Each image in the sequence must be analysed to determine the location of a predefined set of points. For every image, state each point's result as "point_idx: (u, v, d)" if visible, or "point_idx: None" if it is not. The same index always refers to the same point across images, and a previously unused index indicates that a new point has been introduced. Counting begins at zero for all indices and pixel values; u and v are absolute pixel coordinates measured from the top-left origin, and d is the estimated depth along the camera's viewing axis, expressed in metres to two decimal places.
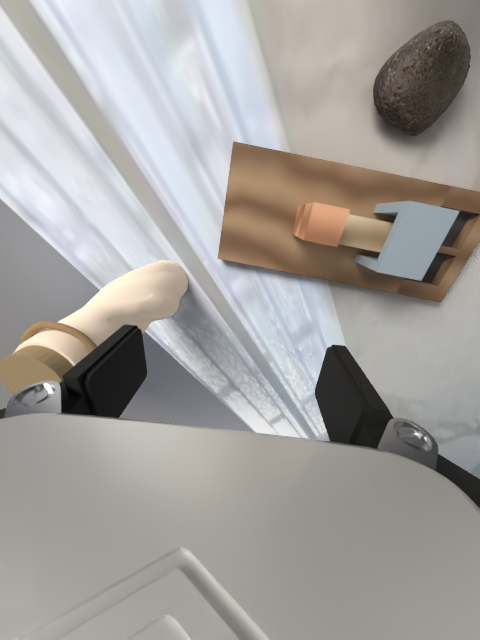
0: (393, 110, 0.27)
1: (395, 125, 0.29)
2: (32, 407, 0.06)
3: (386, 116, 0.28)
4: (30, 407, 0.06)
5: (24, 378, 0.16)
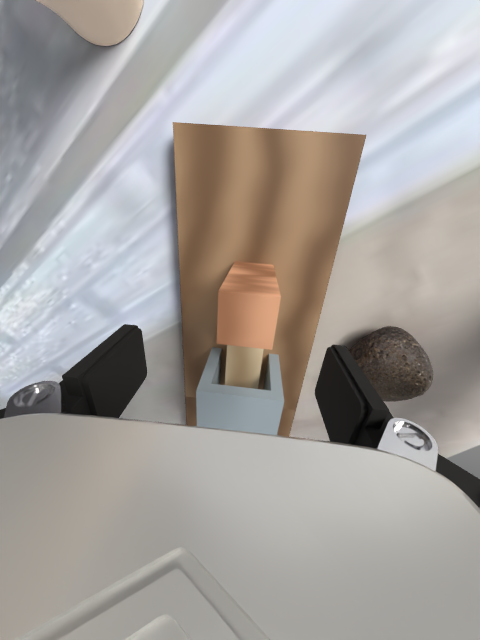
0: (365, 352, 0.25)
1: None
2: (32, 407, 0.06)
3: (359, 345, 0.26)
4: (30, 407, 0.06)
5: None
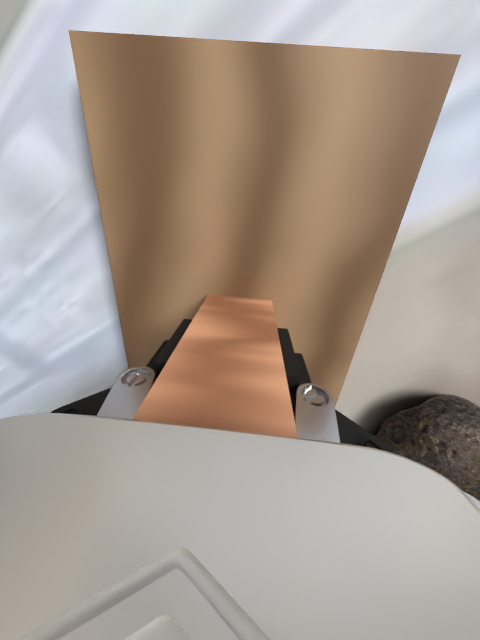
0: (412, 437, 0.16)
1: (383, 430, 0.18)
2: (130, 388, 0.07)
3: (400, 422, 0.17)
4: (129, 387, 0.07)
5: None
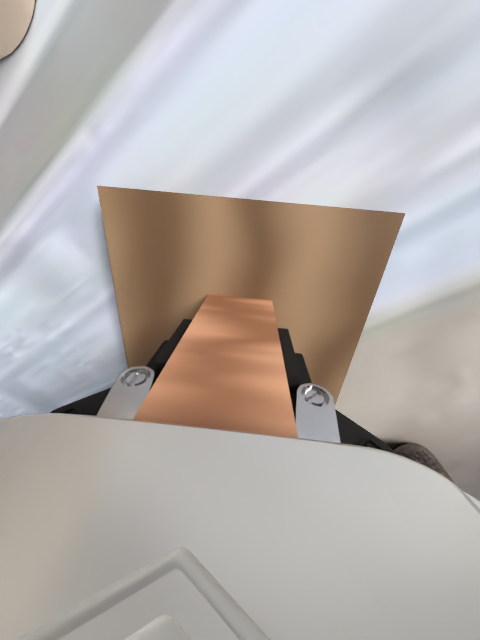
0: None
1: None
2: (129, 388, 0.07)
3: None
4: (128, 387, 0.07)
5: None
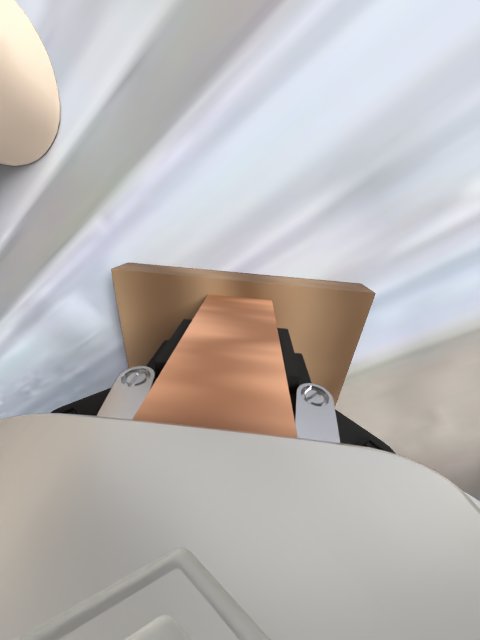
0: None
1: None
2: (130, 388, 0.07)
3: None
4: (129, 387, 0.07)
5: None
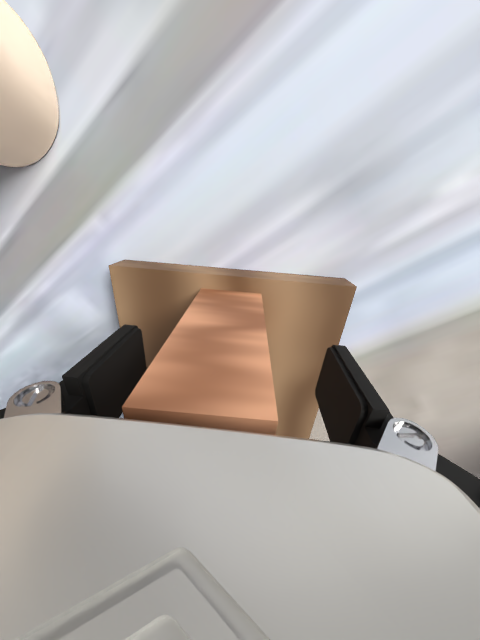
0: None
1: None
2: (32, 407, 0.06)
3: None
4: (30, 407, 0.06)
5: None
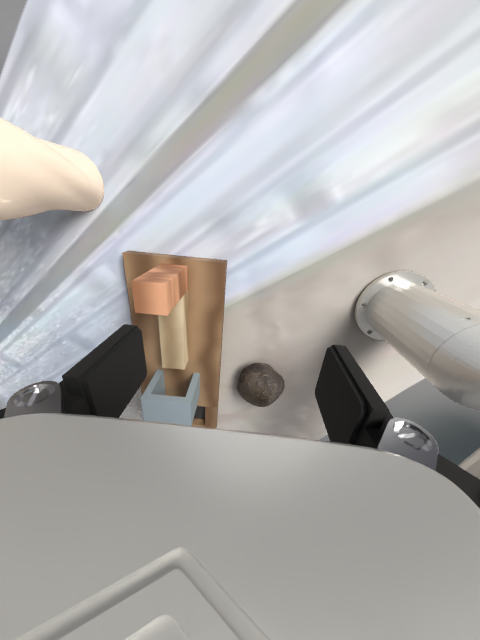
0: (243, 379, 0.42)
1: (239, 379, 0.45)
2: (32, 407, 0.06)
3: (242, 374, 0.43)
4: (30, 407, 0.06)
5: None
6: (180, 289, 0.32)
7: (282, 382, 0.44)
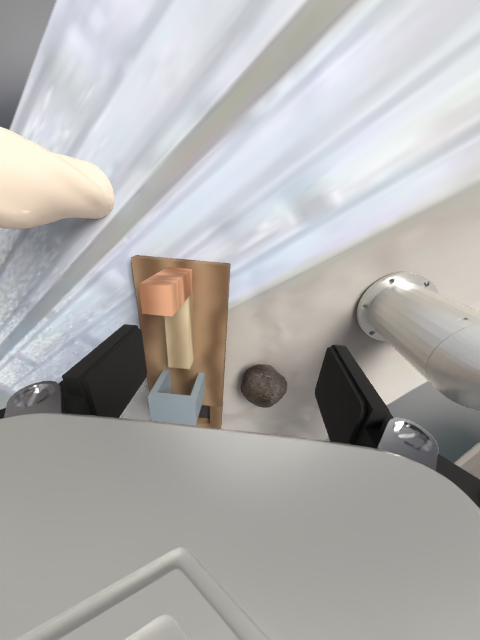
0: (246, 380, 0.43)
1: None
2: (32, 407, 0.06)
3: (245, 375, 0.44)
4: (30, 407, 0.06)
5: None
6: (184, 292, 0.33)
7: (285, 383, 0.45)
